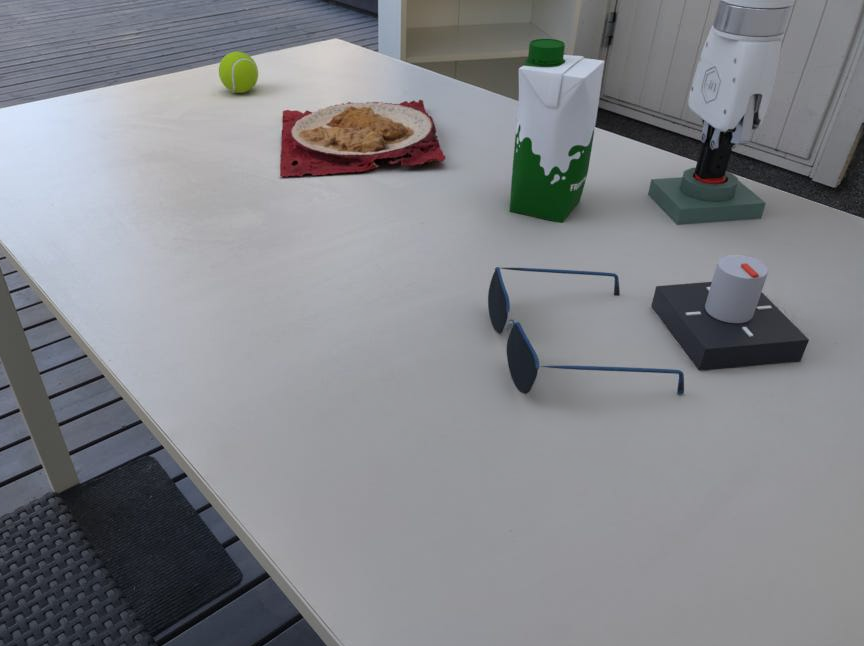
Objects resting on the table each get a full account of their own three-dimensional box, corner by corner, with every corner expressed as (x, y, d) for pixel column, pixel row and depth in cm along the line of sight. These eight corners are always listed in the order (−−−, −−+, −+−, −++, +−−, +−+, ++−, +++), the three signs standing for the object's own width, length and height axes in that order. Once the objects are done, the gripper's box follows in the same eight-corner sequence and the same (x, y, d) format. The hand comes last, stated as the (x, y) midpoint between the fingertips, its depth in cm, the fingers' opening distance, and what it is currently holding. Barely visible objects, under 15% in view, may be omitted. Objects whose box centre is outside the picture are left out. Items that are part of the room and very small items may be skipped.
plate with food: (423, 111, 127) (422, 90, 125) (446, 167, 106) (446, 143, 104) (283, 120, 126) (281, 99, 124) (279, 177, 105) (276, 154, 103)
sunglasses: (482, 302, 79) (491, 260, 76) (613, 308, 81) (627, 268, 78) (521, 408, 65) (534, 362, 62) (677, 412, 67) (697, 368, 64)
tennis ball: (215, 91, 137) (209, 51, 133) (248, 83, 140) (244, 44, 136) (232, 100, 133) (227, 60, 128) (267, 92, 136) (262, 52, 132)
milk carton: (525, 187, 101) (541, 31, 89) (589, 201, 98) (615, 40, 86) (499, 212, 95) (513, 49, 83) (567, 228, 92) (592, 60, 80)
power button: (714, 182, 96) (717, 169, 95) (727, 193, 93) (731, 180, 92) (687, 184, 96) (690, 171, 95) (700, 195, 93) (703, 182, 92)
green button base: (726, 189, 100) (734, 160, 98) (761, 219, 93) (770, 189, 90) (647, 194, 99) (653, 165, 97) (676, 225, 92) (684, 195, 90)
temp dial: (696, 300, 74) (709, 253, 70) (738, 296, 74) (753, 249, 71) (718, 325, 70) (733, 277, 67) (762, 321, 71) (779, 273, 67)
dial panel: (742, 298, 78) (749, 277, 77) (800, 361, 70) (810, 338, 68) (651, 306, 78) (656, 284, 76) (699, 370, 69) (706, 347, 67)
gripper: (688, 5, 88) (656, 155, 99) (753, 38, 76) (708, 203, 87) (748, 3, 89) (709, 151, 100) (822, 35, 77) (768, 199, 88)
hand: (709, 175), depth 93 cm, fingers closed
